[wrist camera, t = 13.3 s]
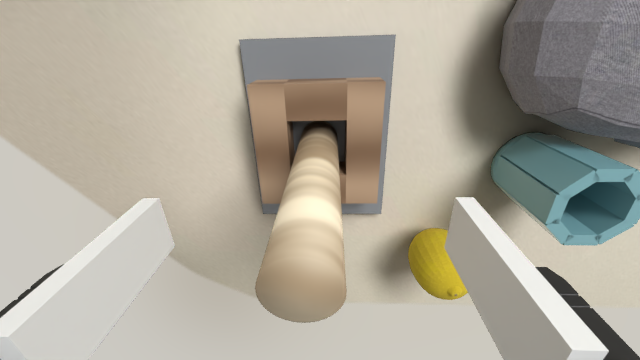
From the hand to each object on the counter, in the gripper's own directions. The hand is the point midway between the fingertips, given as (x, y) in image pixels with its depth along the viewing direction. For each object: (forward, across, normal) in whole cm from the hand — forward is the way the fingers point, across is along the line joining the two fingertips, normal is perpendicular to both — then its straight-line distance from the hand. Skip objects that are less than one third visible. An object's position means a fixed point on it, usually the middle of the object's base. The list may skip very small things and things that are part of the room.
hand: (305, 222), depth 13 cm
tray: (+14, 0, 0) cm, 14 cm away
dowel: (+13, 0, 0) cm, 14 cm away
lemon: (+14, +11, -12) cm, 22 cm away
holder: (+13, 0, 0) cm, 14 cm away
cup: (+14, +19, -3) cm, 24 cm away
